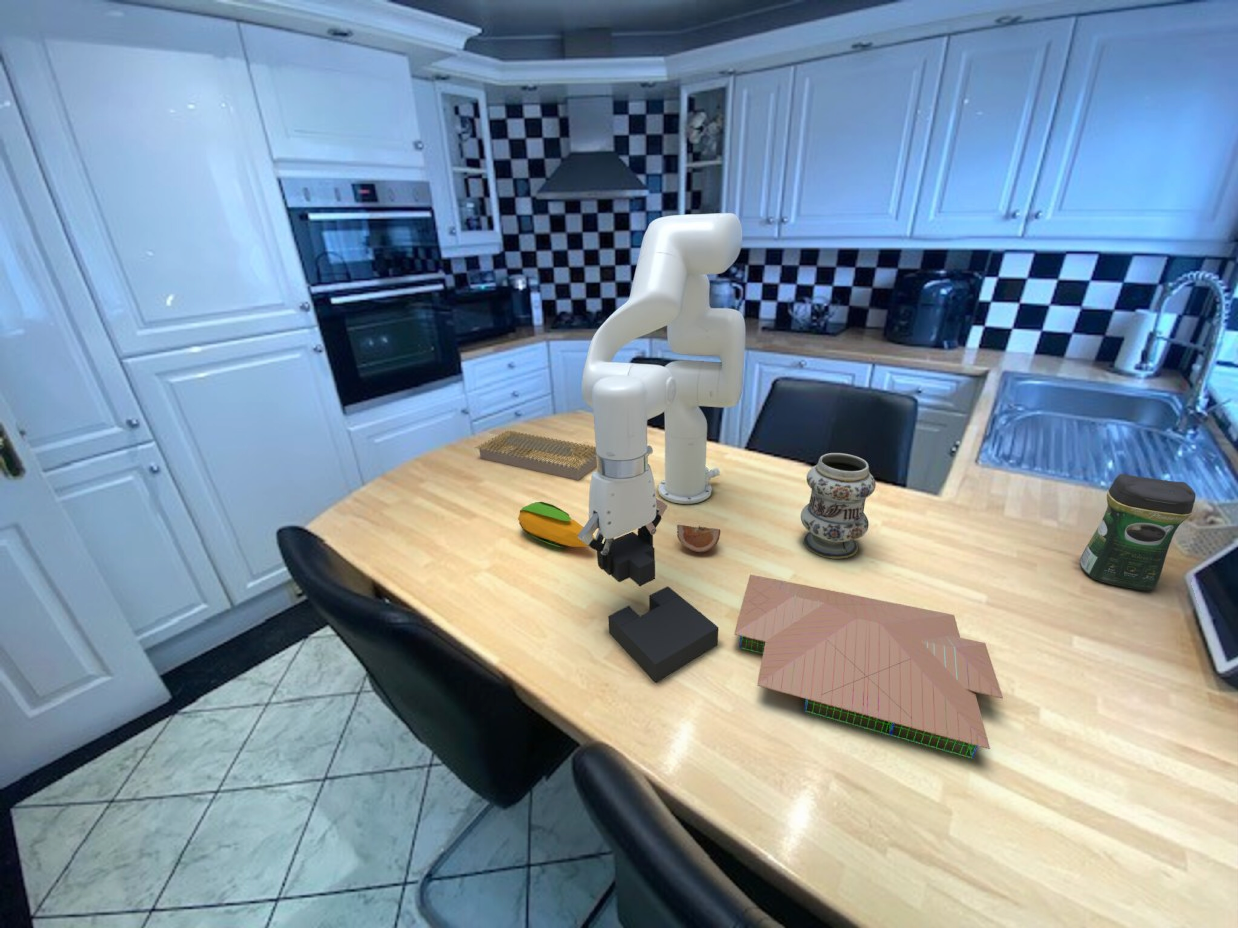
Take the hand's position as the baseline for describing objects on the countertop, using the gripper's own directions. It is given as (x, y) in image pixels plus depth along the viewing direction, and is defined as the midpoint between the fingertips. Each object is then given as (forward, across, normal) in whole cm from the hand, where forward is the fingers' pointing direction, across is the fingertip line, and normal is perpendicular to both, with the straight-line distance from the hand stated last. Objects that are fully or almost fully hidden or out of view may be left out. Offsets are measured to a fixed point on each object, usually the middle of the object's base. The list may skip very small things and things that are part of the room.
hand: (626, 560), depth 82 cm
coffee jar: (+10, -72, +44) cm, 85 cm away
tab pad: (+1, 0, +1) cm, 2 cm away
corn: (+10, 0, -25) cm, 27 cm away
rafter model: (+9, -15, -64) cm, 66 cm away
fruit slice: (+10, -21, -6) cm, 24 cm away
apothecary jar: (+10, -42, +9) cm, 44 cm away
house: (+10, -19, +29) cm, 36 cm away
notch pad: (+10, 0, +9) cm, 13 cm away
